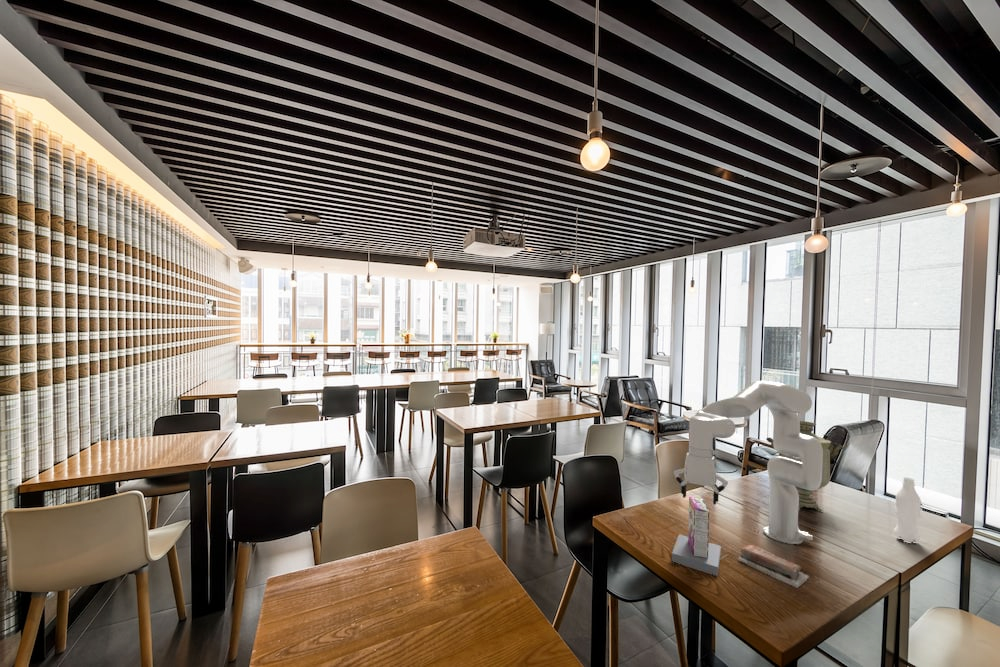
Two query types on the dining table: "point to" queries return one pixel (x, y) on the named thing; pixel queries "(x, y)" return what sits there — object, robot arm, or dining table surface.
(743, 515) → the dining table surface
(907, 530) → the water bottle
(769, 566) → the packaged product
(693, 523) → the candy bar box
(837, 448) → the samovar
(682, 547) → the base plinth
